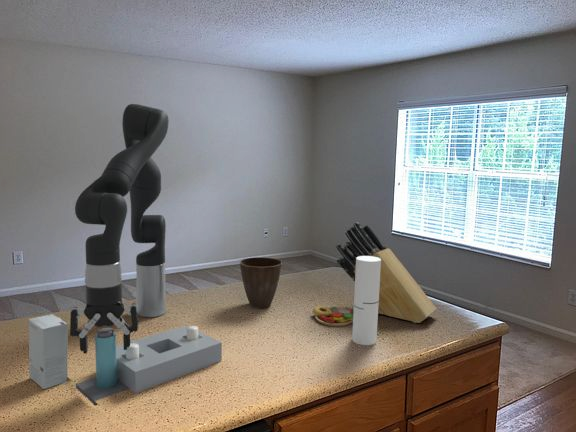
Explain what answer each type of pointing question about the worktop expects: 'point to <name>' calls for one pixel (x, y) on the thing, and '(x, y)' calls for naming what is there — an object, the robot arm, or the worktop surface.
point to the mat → (94, 393)
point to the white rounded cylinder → (132, 352)
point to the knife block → (386, 276)
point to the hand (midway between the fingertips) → (105, 350)
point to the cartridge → (106, 358)
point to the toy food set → (333, 316)
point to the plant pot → (260, 280)
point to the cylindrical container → (366, 300)
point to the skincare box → (48, 351)
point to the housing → (166, 358)
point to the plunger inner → (192, 333)
